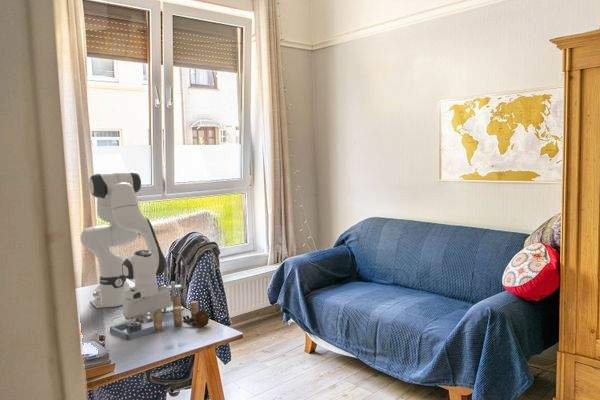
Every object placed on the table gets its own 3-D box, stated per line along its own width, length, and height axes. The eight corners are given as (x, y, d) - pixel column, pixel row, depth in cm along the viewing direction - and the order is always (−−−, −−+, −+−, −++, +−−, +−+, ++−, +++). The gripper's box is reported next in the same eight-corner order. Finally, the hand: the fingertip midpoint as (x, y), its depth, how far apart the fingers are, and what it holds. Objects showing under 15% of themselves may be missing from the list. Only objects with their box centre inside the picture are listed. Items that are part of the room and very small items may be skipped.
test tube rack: (125, 319, 211) (123, 289, 210) (125, 316, 215) (122, 287, 214) (183, 310, 220) (181, 281, 219) (182, 307, 224) (180, 279, 223)
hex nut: (125, 331, 195) (124, 324, 195) (136, 328, 199) (135, 320, 198) (131, 335, 191) (131, 327, 191) (143, 331, 195) (142, 323, 194)
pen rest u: (110, 332, 195) (109, 327, 195) (135, 324, 203) (135, 319, 203) (127, 340, 185) (126, 335, 185) (153, 332, 193) (153, 327, 193)
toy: (194, 308, 209) (212, 306, 198) (197, 324, 208) (216, 324, 197) (174, 313, 202) (192, 312, 191) (177, 331, 202) (195, 331, 191)
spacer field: (134, 323, 205) (132, 307, 204) (177, 310, 220) (176, 295, 219) (156, 332, 192) (155, 315, 191) (201, 318, 207) (200, 302, 206)
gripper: (165, 283, 208) (168, 314, 209) (119, 294, 194) (122, 327, 195) (173, 285, 204) (175, 317, 205) (126, 297, 189) (129, 331, 190)
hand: (149, 322), depth 200 cm, fingers closed
